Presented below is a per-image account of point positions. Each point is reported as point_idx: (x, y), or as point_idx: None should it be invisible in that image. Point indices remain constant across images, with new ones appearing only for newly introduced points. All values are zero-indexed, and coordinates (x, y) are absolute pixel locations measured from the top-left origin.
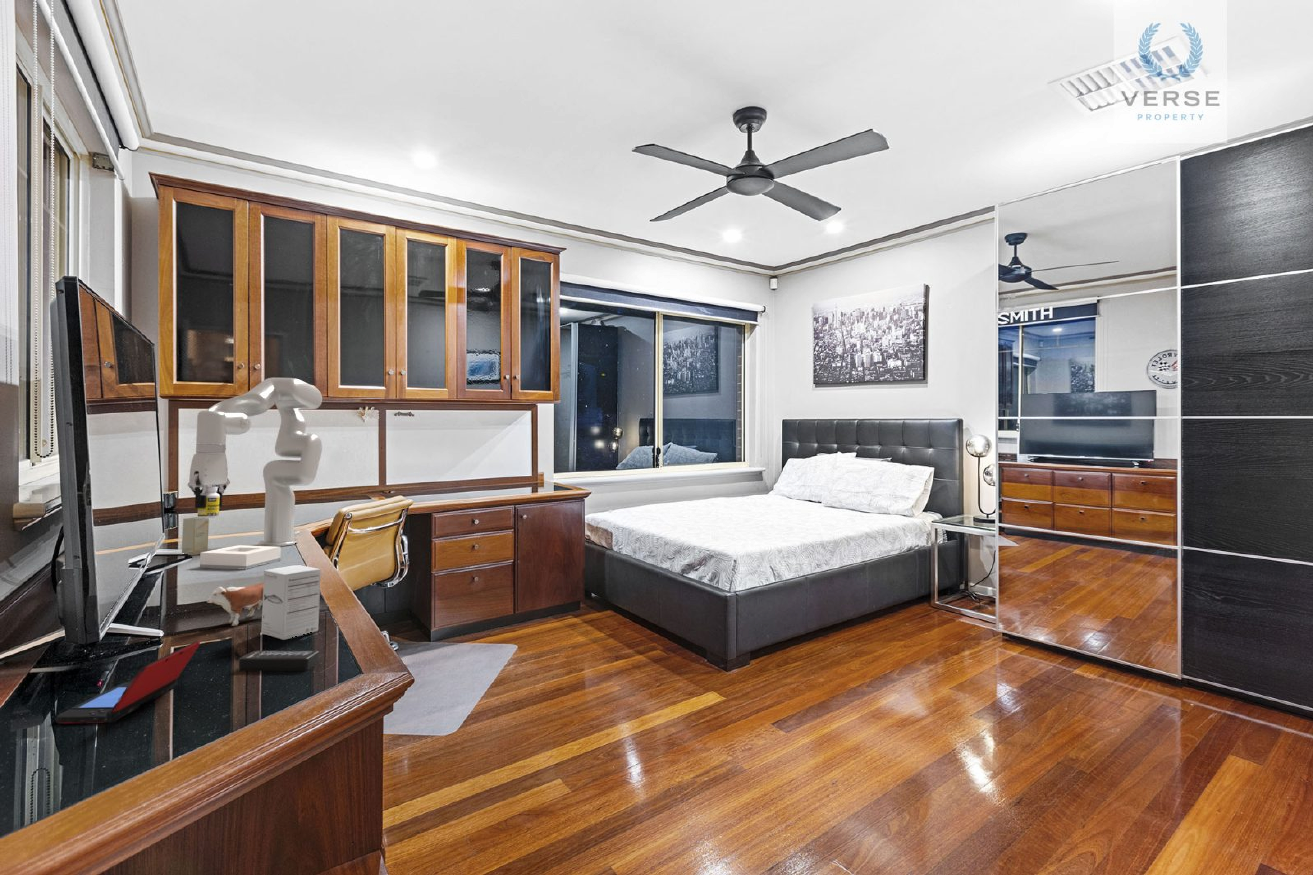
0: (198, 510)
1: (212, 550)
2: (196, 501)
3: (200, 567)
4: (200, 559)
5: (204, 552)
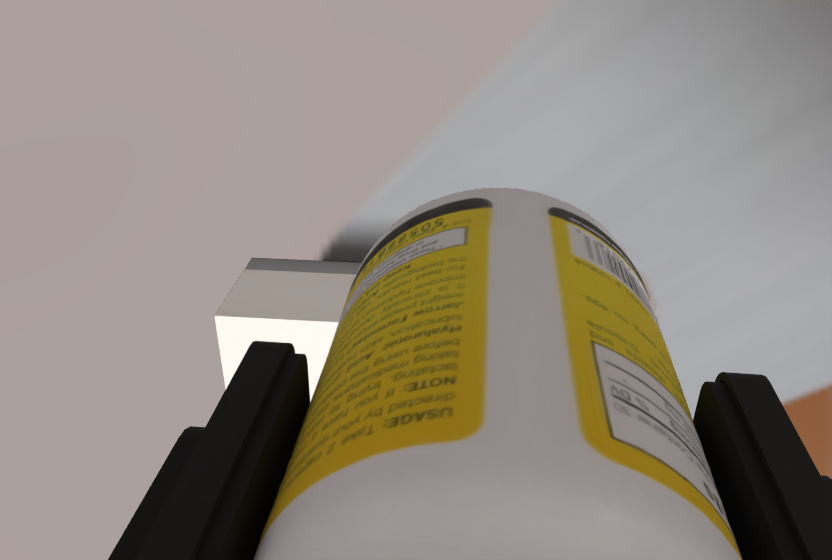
0: (343, 319)
1: (329, 330)
2: (160, 492)
3: (252, 262)
4: (232, 290)
5: (227, 339)
